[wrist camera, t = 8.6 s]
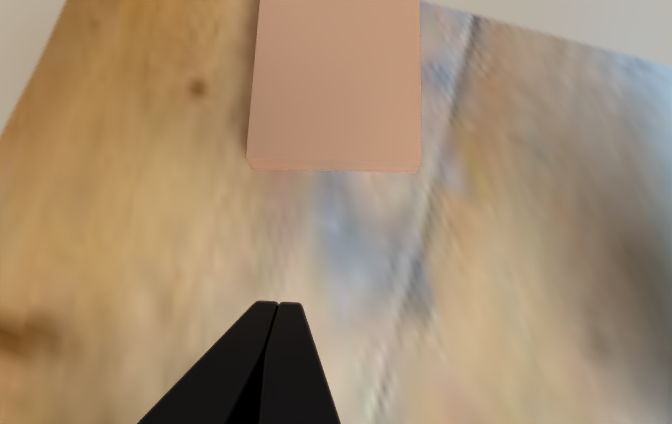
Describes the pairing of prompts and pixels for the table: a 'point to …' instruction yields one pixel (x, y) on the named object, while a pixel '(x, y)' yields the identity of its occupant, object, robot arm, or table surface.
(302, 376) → the robot arm
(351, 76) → the tile
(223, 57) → the table surface
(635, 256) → the table surface
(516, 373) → the table surface
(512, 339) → the table surface
